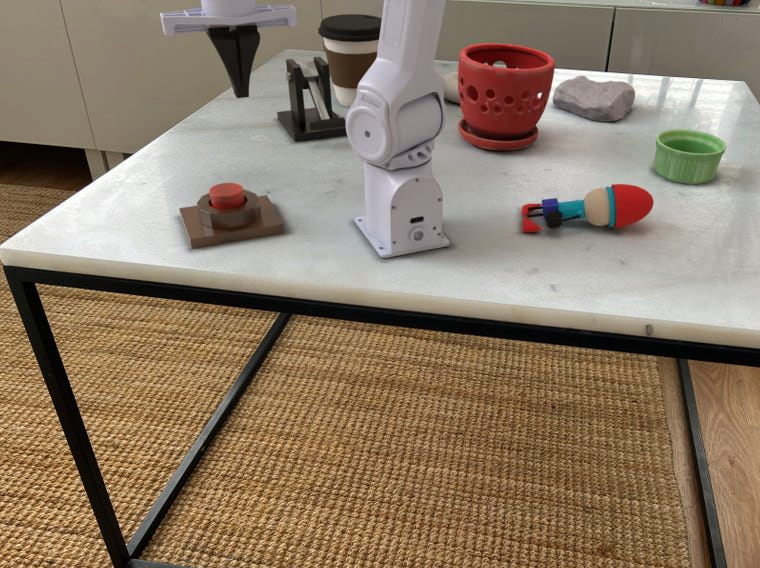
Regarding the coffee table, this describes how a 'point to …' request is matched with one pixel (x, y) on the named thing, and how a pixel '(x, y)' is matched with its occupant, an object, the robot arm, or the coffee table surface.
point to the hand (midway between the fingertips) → (241, 95)
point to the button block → (230, 221)
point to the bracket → (300, 116)
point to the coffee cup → (350, 51)
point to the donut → (451, 87)
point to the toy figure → (594, 208)
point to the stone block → (595, 98)
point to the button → (227, 196)
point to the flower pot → (503, 94)
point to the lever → (317, 99)
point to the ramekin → (688, 155)
